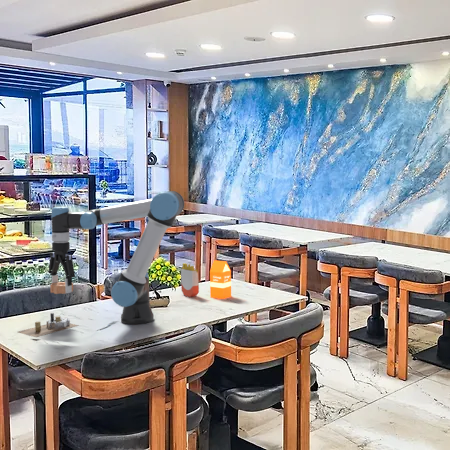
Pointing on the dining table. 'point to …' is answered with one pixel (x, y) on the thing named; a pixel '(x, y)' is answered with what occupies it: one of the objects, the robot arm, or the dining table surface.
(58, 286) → the loose gear
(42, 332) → the gear board
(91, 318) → the dining table surface
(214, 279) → the orange juice
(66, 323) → the gear
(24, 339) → the dining table surface
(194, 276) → the french fries container
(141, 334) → the dining table surface
